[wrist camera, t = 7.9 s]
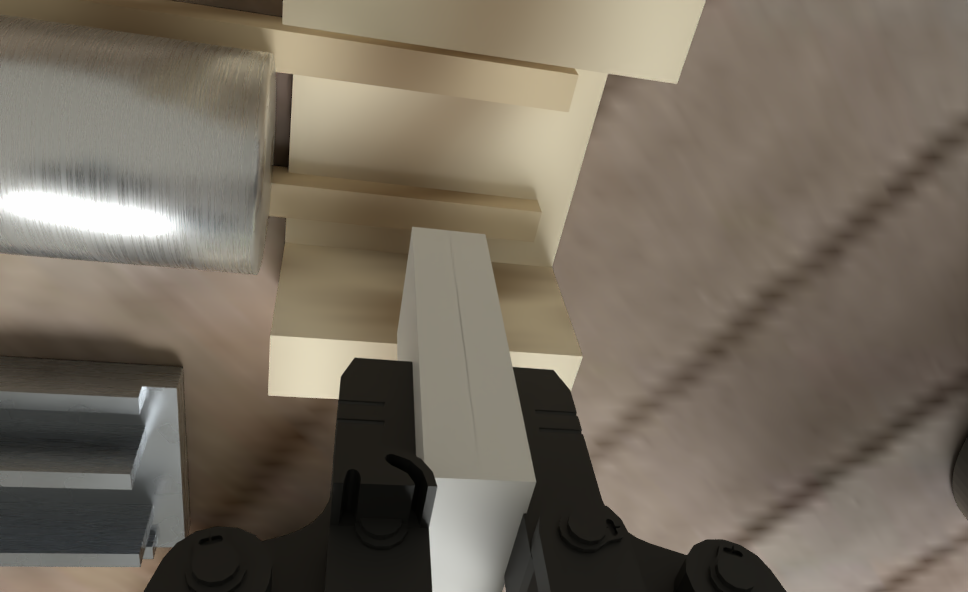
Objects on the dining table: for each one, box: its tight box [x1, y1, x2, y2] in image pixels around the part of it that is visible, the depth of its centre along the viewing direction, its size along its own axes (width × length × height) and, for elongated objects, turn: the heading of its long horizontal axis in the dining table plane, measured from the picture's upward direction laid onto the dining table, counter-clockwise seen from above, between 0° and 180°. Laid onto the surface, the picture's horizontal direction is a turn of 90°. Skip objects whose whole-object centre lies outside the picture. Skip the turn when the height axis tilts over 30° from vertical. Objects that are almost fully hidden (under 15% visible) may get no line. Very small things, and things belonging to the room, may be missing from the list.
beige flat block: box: [0, 0, 706, 399], centre depth 17 cm, size 22×12×4 cm, turn 79°
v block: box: [0, 356, 190, 567], centre depth 24 cm, size 10×8×3 cm
